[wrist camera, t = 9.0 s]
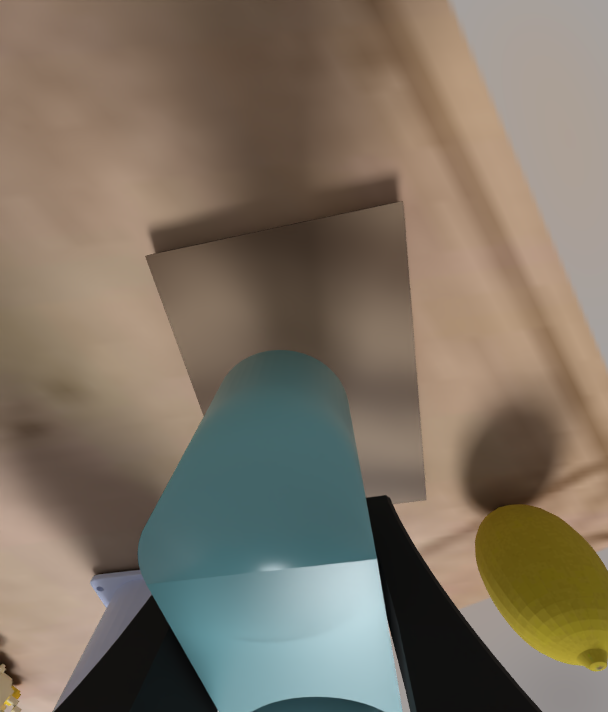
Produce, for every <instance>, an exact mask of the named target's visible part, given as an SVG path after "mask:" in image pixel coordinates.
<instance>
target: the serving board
mask: <svg viewBox="0 0 608 712" xmlns="http://www.w3.org/2000/svg"><path fill="white" fill-rule="evenodd" d="M145 257H146V260H147V262H148V265H149V268H150V271H151V273H152V276H153V279H154V281H155V284H156V287H157V290H158V292H159V295H160V298H161V301H162V303H163V306H164V309H165V312H166V314H167V317H168V320H169V322H170V325H171V328H172V331H173V333H174V336H175V339H176V342H177V344H178V347H179V350H180V352H181V355H182V358H183V361H184V363H185V366H186V369H187V372H188V374H189V377H190V380H191V383H192V385H193V388H194V391H195V393H196V396H197V399H198V402H199V404H200V407H201V410H202V413H203V415H205V413H206V411H207V410H208V408H209V406H210V404H211V402H212V400H213V398H214V397H215V395H216V393H217V391H218V389H219V387H220V385H221V383H222V382H223V380H224V378H225V377H226V375H227V374H228V373H229V371H230V370H231V369H232V368H233V367H234V366H235V365H237V364H238V363H239V362H241V361H242V360H244V359H246V358H248V357H250V356H252V355H255V354H257V353H261V352H265V351H272V350H289V351H295V352H299V353H303V354H306V355H308V356H311V357H313V358H315V359H317V360H319V361H321V362H322V363H323V364H325V365H326V366H327V367H329V368H330V369H331V370H332V371H333V372H334V373H335V375H336V376H337V377H338V378H339V380H340V381H341V383H342V385H343V387H344V389H345V391H346V394H347V398H348V403H349V408H350V414H351V419H352V425H353V430H354V436H355V441H356V447H357V452H358V458H359V463H360V469H361V474H362V480H363V485H364V491H365V496H366V498H367V497H375V496H382V495H386V496H388V497H390V499H391V501H392V504H398V503H406V502H414V501H422V500H426V488H425V475H424V462H423V449H422V436H421V424H420V411H419V398H418V385H417V372H416V360H415V347H414V334H413V321H412V308H411V295H410V283H409V270H408V257H407V244H406V231H405V219H404V206H403V201H401V202H395V203H390V204H385V205H380V206H376V207H371V208H366V209H362V210H357V211H352V212H348V213H343V214H338V215H333V216H329V217H324V218H319V219H315V220H310V221H305V222H301V223H296V224H291V225H286V226H282V227H277V228H272V229H268V230H263V231H258V232H254V233H249V234H244V235H239V236H235V237H230V238H225V239H221V240H216V241H211V242H207V243H202V244H197V245H192V246H188V247H183V248H178V249H174V250H169V251H164V252H160V253H155V254H151V255H147V256H145Z"/></svg>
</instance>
